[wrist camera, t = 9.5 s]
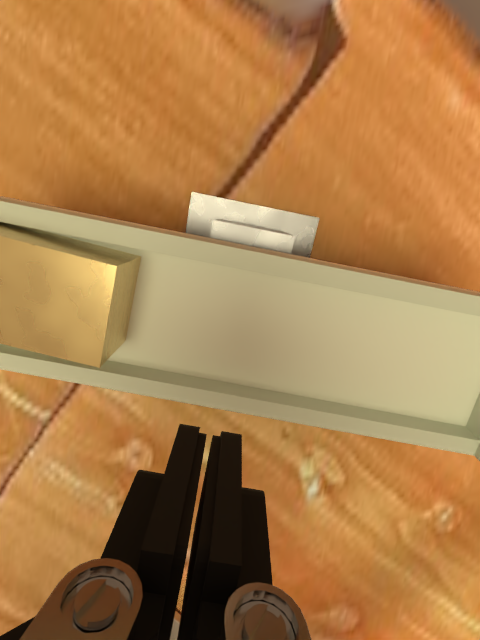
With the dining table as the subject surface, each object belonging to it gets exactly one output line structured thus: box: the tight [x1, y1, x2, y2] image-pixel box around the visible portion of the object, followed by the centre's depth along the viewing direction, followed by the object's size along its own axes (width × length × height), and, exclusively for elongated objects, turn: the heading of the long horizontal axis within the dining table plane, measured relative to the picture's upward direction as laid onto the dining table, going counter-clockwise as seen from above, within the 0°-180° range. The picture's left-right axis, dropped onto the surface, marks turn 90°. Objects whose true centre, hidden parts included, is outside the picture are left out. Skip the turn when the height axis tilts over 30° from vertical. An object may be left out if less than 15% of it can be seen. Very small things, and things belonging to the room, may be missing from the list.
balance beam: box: [0, 196, 480, 461], centre depth 22 cm, size 32×9×8 cm, turn 79°
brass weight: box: [0, 222, 141, 368], centre depth 19 cm, size 8×5×4 cm, turn 75°
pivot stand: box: [186, 192, 319, 258], centre depth 27 cm, size 10×14×8 cm
